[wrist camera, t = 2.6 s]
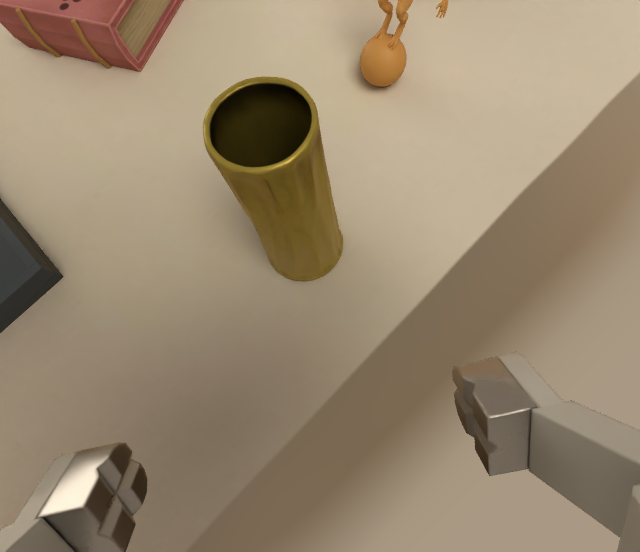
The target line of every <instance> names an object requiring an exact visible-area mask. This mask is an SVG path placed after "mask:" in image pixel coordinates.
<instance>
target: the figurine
mask: <svg viewBox="0 0 640 552" xmlns="http://www.w3.org/2000/svg"><path fill="white" fill-rule="evenodd" d="M412 1H413V0H398V5H397V8H396V14H397V18H398V19H399V21H400V24H399V26H398V28H397V30H396V32H395V34H394V35H391V34H387V33H386V31H387V29H388V26H389V23H390V21H391V18H392V14H393V13H392V10H393V6H392V4H391V3H390V2H388V0H378V3H379V6H380V8H381V9H383V11H384V12H385V13H387V16H386V18H385V20H384V23H383V25H382V27H381V29H380V31H379V32H378V33H377V34H376V35H375V36H374V37H373V38H371V39H370V40H369V41H368V42H367V43H366V45H365V46H364V48H363V50H362V53H361V57H360V68H361V71H362V74H363V76H364V77H365V79H366V80H367V81H368V82H369V83H371V84H373V85H375V86H388V85H390V84H392V83H394V82H395V81H396V80H397V79H398V78H399V77H400V76H401V75H402V73H403V71H404V69H405V65H406V50H405V47H404V45H403V43H402V42H401V41H400V40H399V38H400V36H401V33H402V31H403V29H404V27H405V24H406V21H407V19H408V14H407V13H406V11H407V10H408V8H409V7H410V5H411V3H412ZM447 6H448V0H443V1H442V2H441V3H440V4H439V5H438V6H437V7H436V9H437V8H438V7H440V10H439V12H438V14H437V16H436V18H437V17H438V15H439V14H440V12H441V15H440V18H441V17H442V15H443V12H444V15H445V13H446V10H447ZM444 15H443V17H444Z"/></svg>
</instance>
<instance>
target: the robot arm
mask: <svg viewBox="0 0 640 552" xmlns="http://www.w3.org/2000/svg"><path fill="white" fill-rule="evenodd" d="M452 373H453V381H454V382H455V384H456V386H457V390H456V391H455V393H454V397H455V404H456V408H457V412H458V415H459V418H460V420H461V422H462V425H463V427H464V429H465V431H466V433H467V434H469V435H471V436H473V437H474V438H475V450H476V452H477V454H478V456H479V457H480V459H481V461H482V463H483V465H484V467H485V469H486V471H487V472H488V474H489V476H493V475H498V474H503V473H509V472H514V471H519V470H524V469H529V471H530V472H531V473H532V474H534V475H535V476H537V477H538V478H539V479H541V480H542V481H543V482H545V483H546V484H547V485H549V486H550V487H552V488H553V489H554V490H556V491H557V492H558V493H560V494H561V495H563V496H564V497H565V498H567V499H568V500H569V501H571V502H572V503H573V504H575V505H576V506H578V507H579V508H580V509H582V510H583V511H584V512H586V513H587V514H588V515H590V516H591V517H592V518H594V519H596V520H597V521H598V522H599V523H601V524H602V525H603V526H605V527H606V528H608V529H609V530H610V531H612V532H613V533H614V534H616V535H617V536H618V537H620V541H619V545H618V549H617V552H640V430H638V429H636V428H634V427H631V426H629V425H627V424H624V423H622V422H620V421H618V420H615V419H613V418H611V417H608V416H606V415H604V414H601V413H599V412H597V411H595V410H592V409H590V408H588V407H585V406H583V405H581V404H578V403H576V402H574V401H566V402H564V401H563V400H562V399H561V397H560V396H559V395H558V394H557V393H556V392H555V391H554V390H553V389H552V388H551V386H550V385H549V384H548V383H547V382H546V381H545V380H544V379H543V378H542V377H541V375H540V374H539V373H538V372H537V371H536V370H535V369H534V368H533V367H532V366H531V364H530V363H529V362H528V361H527V360H526V359H525V358H524V357H523V356H522V355H521V354H520V353H518V352H513V353H509V354H505V355H500V356H496V357H495V358H488V359H484V360H480V361H475V362H472V363H467V364H463V365H459V366H454V367H453V371H452ZM131 455H132V451H131V449H130V448H129V447H128V445H127V444H126V443H116V444H111V445H106V446H101V447H96V448H91V449H86V450H81V451H78V452H73V453H68V454H63V455H61V456H59V457H58V458H57V459H55V460H54V461H53V463H52V464H51V466H50V468H49V469H48V471H47V472H46V474H45V475H44V477H43V478H42V480H41V481H40V483H39V484H38V486H37V488H36V489H35V491H34V492H33V494H32V495H31V497H30V498H29V500H28V501H27V503H26V504H25V506H24V507H23V509H22V511H21V512H20V514H19V515H18V517H17V518H16V520H15V521H14V523H13V524H11V525H7V526H5V527H4V528H3V529H2V530H1V531H0V552H126V549H127V546H128V544H129V541H130V538H131V535H132V533H133V530H134V527H135V521H134V518H133V515H134V514H135V513H136V511H137V510H138V509H139V508H140V507H141V506H142V505H143V502H144V499H145V496H146V493H147V476H146V473H145V470H144V468H143V467H142V465H141V464H140V463H138V462H136V461H134V460H132V459H131Z"/></svg>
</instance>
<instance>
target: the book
mask: <svg viewBox="0 0 640 552" xmlns="http://www.w3.org/2000/svg"><path fill="white" fill-rule="evenodd" d="M182 1H183V0H0V23H1V24H2V25H3V26H4V27H5V28H6V29H7V30H8V31H9V32H10V33H11V34H12V35H13V36H14V37H16V38H17V39H18V40H20V41H21V42H23V43H24V44H25V45H27V46H28V47H31V48H35V49H40V50H44V51H49V52H51V53H52V54H54V55H55V56H57V57H60V56H61V54H63V55H67V56H72V57H76V58H81V59H85V60H90V61H94V62H99V63H102V64H103V65H104V66H105V67H106V68H111V65H113V66H117V67H122V68H126V69H131V70H135V71H140V72H141V70H142V68H143V67H144V65H145V63H146V62H147V60H148V58H149V57H150V55H151V53H152V52H153V50H154V48H155V47H156V45H157V43H158V42H159V40H160V38H161V36H162V35H163V33H164V31H165V30H166V28H167V26H168V25H169V23H170V21H171V20H172V18H173V16H174V15H175V13H176V11H177V10H178V8H179V6H180V5H181V3H182Z"/></svg>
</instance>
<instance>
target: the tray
mask: <svg viewBox="0 0 640 552" xmlns="http://www.w3.org/2000/svg"><path fill="white" fill-rule="evenodd" d="M62 277H63V276H62V275H61V273H60V272H59V271H58V270H57V268H56V267H55V266H54V265H53V264H52V262H51V261H50V260H49V259H48V257H47V256H46V255H45V254H44V252H43V251H42V250H41V249H40V248H39V246H38V245H37V244H36V243H35V241H34V240H33V239H32V238H31V237H30V235H29V234H28V233H27V232H26V230H25V229H24V228H23V227H22V225H21V224H20V223H19V222H18V221H17V219H16V218H15V217H14V216H13V214H12V213H11V212H10V211H9V209H8V208H7V207H6V206H5V205H4V203H3V202H2V201H1V200H0V332H2V331H3V330H4V329H5V328H6V327H7V326H8V325H10V324H11V323H12V322H13V321H14V320H15V319H16V318H17V317H19V316H20V315H21V314H22V313H23V312H24V311H25V310H26V309H28V308H29V307H30V306H31V305H32V304H33V303H34V302H35V301H37V300H38V299H39V298H40V297H41V296H42V295H43V294H44V293H46V292H47V291H48V290H49V289H50V288H51V287H52V286H53V285H55V284H56V283H57V282H58V281H59V280H60V279H61V278H62Z"/></svg>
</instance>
